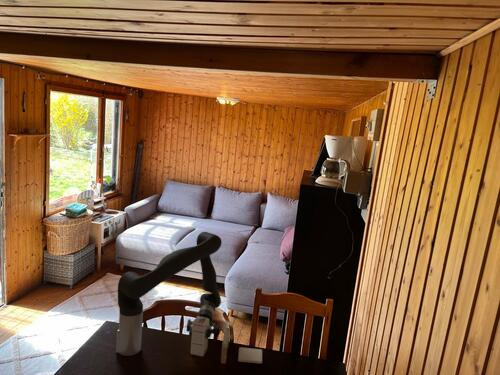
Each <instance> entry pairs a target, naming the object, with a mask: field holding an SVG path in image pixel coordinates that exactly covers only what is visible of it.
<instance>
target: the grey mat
mask: <svg viewBox="0 0 500 375" xmlns="http://www.w3.org/2000/svg"><path fill="white" fill-rule="evenodd" d="M237 357H238V358H237V362H241V363H250V364H251V363H253V364H262V365H263V349H260V348H259V349H258V348H249V347H239V349H238V356H237Z"/></svg>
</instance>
